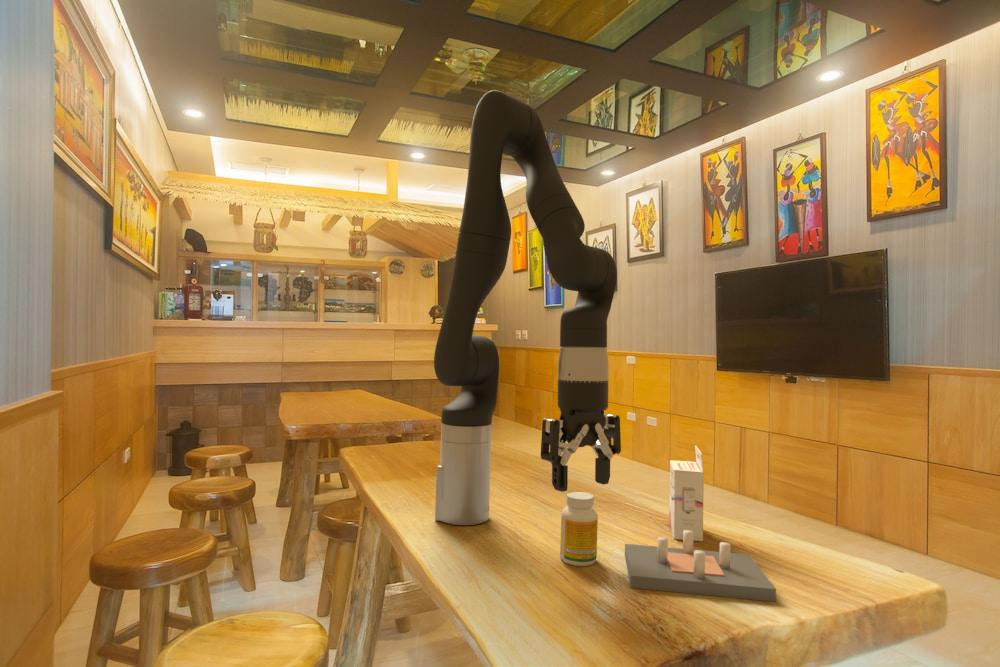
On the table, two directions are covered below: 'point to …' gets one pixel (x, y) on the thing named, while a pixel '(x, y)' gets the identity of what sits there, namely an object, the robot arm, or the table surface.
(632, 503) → the table surface
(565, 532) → the supplement bottle
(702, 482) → the ink cartridge box
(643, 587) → the pin tray
